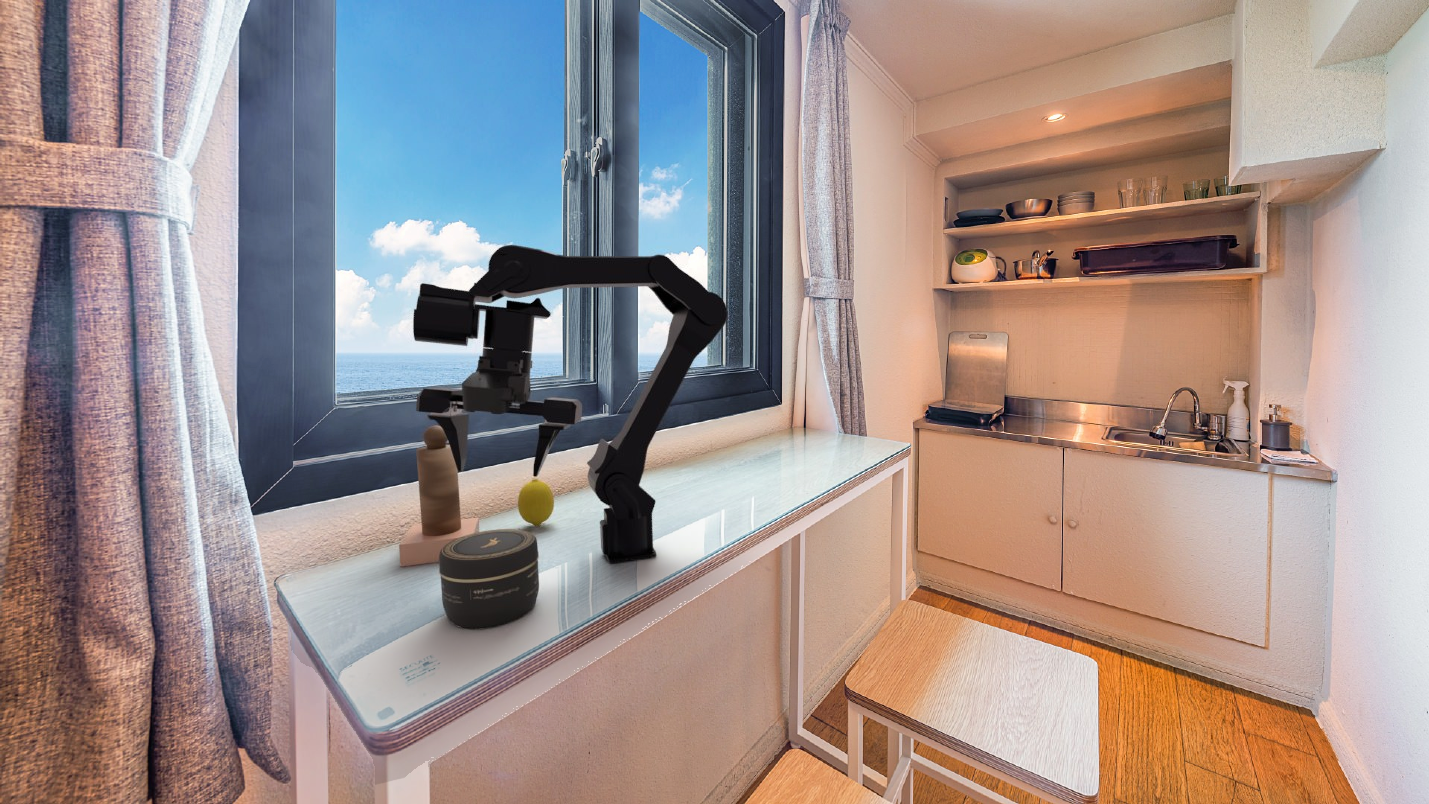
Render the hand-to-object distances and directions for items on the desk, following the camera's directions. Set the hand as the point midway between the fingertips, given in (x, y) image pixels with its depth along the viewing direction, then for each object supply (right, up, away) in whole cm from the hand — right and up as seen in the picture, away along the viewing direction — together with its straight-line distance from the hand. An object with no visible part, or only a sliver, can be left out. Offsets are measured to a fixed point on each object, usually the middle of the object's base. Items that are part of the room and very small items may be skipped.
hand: (498, 473), depth 67 cm
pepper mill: (-12, -9, +9) cm, 18 cm away
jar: (+3, -14, -9) cm, 17 cm away
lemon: (-2, -12, +19) cm, 23 cm away
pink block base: (-12, -12, +9) cm, 20 cm away
